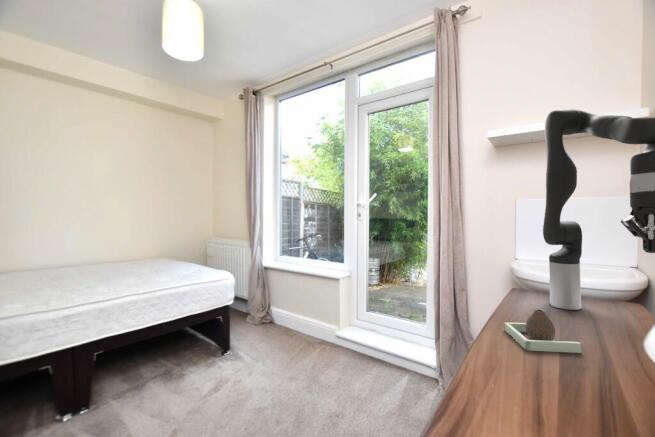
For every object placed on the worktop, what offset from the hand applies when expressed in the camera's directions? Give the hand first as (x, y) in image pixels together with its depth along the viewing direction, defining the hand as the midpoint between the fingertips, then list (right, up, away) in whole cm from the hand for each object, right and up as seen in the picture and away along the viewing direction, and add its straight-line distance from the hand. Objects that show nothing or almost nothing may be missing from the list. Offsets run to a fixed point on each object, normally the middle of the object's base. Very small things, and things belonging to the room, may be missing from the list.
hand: (651, 252), depth 80 cm
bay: (-28, -26, +3) cm, 38 cm away
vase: (-28, -26, +3) cm, 39 cm away
